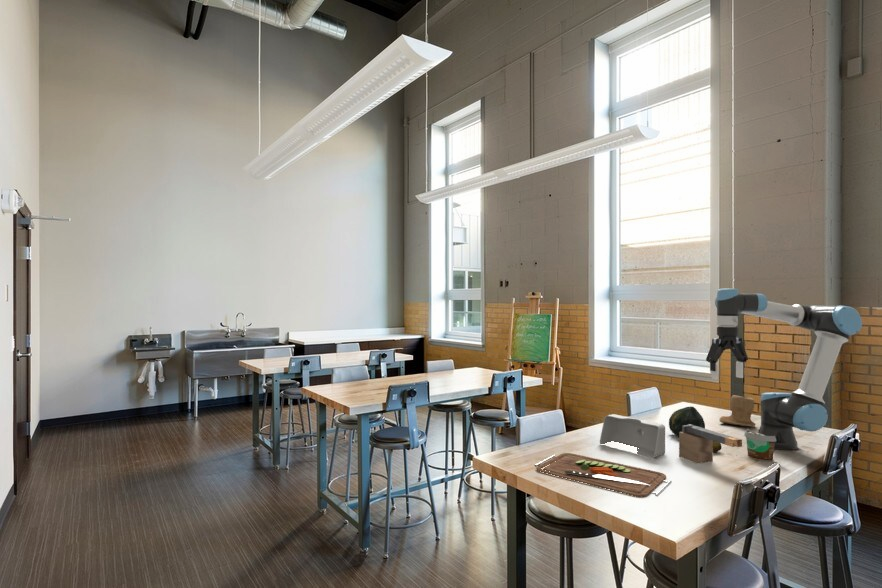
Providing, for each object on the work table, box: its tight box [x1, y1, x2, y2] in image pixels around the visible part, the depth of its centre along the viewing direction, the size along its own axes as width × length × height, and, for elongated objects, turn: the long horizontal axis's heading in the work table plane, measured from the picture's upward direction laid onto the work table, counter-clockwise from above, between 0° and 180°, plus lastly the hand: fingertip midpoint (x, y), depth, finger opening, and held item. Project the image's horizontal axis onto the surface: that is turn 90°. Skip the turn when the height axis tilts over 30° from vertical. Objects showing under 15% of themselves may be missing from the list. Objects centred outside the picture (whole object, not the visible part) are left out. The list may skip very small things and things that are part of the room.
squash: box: [668, 405, 706, 437], centre depth 235 cm, size 14×15×15 cm
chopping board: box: [534, 452, 672, 498], centre depth 184 cm, size 45×27×3 cm, turn 51°
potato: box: [713, 441, 723, 453], centre depth 214 cm, size 8×13×8 cm, turn 35°
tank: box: [599, 413, 666, 459], centre depth 216 cm, size 25×16×12 cm, turn 40°
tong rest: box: [678, 425, 743, 464], centre depth 195 cm, size 8×23×13 cm, turn 20°
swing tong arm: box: [686, 424, 737, 448], centre depth 194 cm, size 2×21×3 cm, turn 20°
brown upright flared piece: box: [719, 394, 756, 427], centre depth 257 cm, size 15×12×15 cm
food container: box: [743, 428, 776, 462], centre depth 204 cm, size 12×6×10 cm, turn 21°
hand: (727, 378), depth 205 cm, fingers open, 13 cm apart
